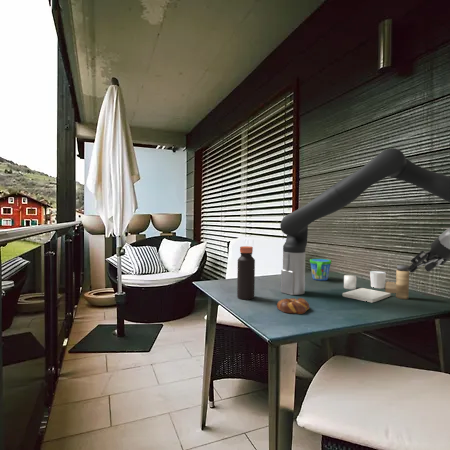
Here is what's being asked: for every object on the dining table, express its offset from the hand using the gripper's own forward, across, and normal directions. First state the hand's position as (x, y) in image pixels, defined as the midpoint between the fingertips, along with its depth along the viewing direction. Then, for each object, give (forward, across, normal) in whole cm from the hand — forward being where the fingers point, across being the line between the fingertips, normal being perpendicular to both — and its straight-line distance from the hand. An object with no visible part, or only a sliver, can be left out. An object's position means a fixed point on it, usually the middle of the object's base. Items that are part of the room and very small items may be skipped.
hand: (418, 270), depth 115 cm
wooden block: (+20, -4, -2) cm, 20 cm away
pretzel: (+14, +50, +5) cm, 52 cm away
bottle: (+27, +60, -9) cm, 66 cm away
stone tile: (+18, +12, 0) cm, 21 cm away
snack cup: (+42, +9, -24) cm, 50 cm away
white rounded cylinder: (+28, +8, -10) cm, 30 cm away
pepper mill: (+13, 0, +4) cm, 14 cm away
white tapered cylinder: (+26, -6, -9) cm, 29 cm away
